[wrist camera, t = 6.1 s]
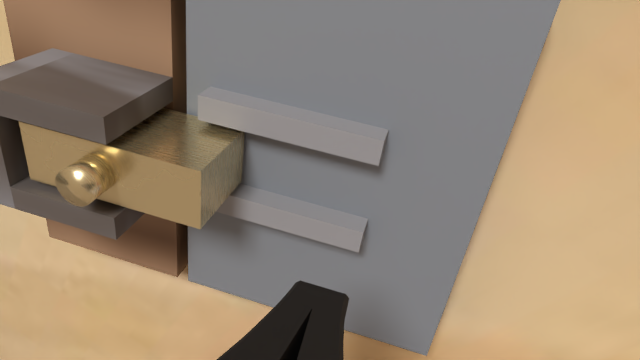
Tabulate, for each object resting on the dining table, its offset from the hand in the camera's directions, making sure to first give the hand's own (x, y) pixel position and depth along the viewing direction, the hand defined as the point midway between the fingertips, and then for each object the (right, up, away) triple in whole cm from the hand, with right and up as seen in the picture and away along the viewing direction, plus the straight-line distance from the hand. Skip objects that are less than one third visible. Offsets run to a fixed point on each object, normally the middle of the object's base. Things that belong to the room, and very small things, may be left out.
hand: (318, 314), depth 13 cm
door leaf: (+1, +5, +8) cm, 10 cm away
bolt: (-6, +5, +8) cm, 11 cm away
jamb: (-9, +7, +10) cm, 15 cm away
